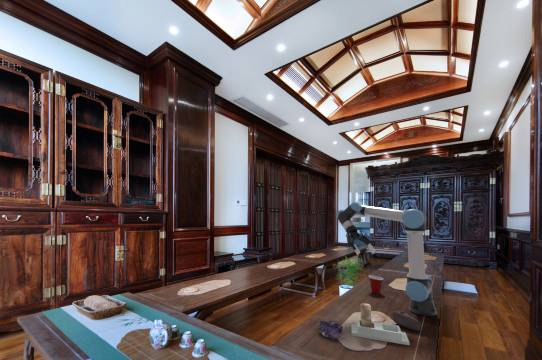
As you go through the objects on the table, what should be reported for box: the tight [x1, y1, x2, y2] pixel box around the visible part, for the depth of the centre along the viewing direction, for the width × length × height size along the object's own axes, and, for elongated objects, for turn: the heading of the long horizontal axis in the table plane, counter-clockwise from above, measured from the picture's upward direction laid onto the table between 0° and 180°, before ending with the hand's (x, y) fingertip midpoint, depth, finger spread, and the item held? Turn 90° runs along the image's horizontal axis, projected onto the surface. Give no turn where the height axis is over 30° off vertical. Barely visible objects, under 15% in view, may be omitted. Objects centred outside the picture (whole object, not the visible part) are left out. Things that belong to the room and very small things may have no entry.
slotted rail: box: [351, 318, 410, 346], centre depth 128 cm, size 26×10×4 cm, turn 72°
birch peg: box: [359, 302, 372, 328], centre depth 131 cm, size 5×5×12 cm
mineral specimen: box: [318, 320, 343, 340], centre depth 129 cm, size 11×14×4 cm
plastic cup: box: [368, 274, 384, 295], centre depth 199 cm, size 11×11×12 cm
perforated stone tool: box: [392, 310, 423, 332], centre depth 139 cm, size 15×5×7 cm, turn 33°
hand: (366, 253), depth 165 cm, fingers open, 13 cm apart
